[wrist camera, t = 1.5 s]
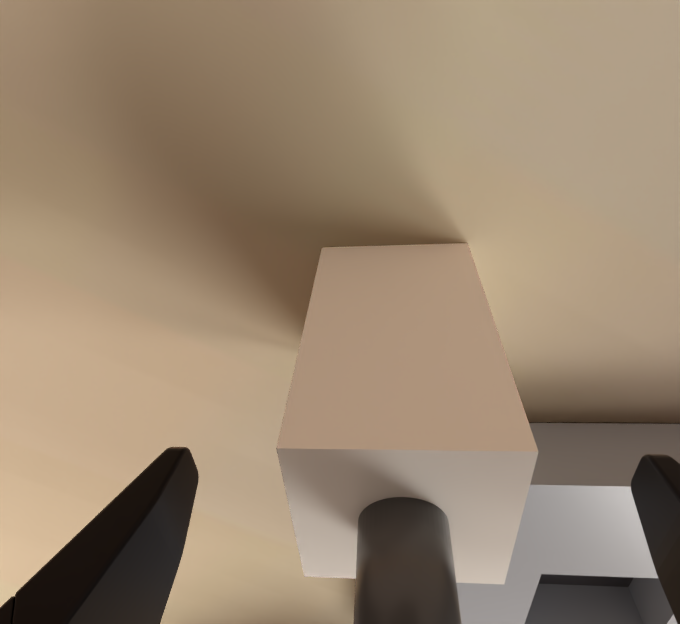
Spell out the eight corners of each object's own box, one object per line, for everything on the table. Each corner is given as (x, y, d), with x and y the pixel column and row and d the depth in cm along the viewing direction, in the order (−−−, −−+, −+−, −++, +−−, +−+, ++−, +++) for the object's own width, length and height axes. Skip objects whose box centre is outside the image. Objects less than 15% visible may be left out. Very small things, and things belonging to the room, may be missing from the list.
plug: (467, 243, 13) (586, 593, 5) (457, 356, 15) (530, 712, 8) (321, 247, 13) (246, 579, 6) (332, 357, 15) (288, 696, 8)
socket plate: (888, 425, 15) (966, 492, 13) (706, 637, 24) (736, 697, 22) (394, 421, 17) (396, 481, 15) (395, 622, 26) (396, 677, 24)
